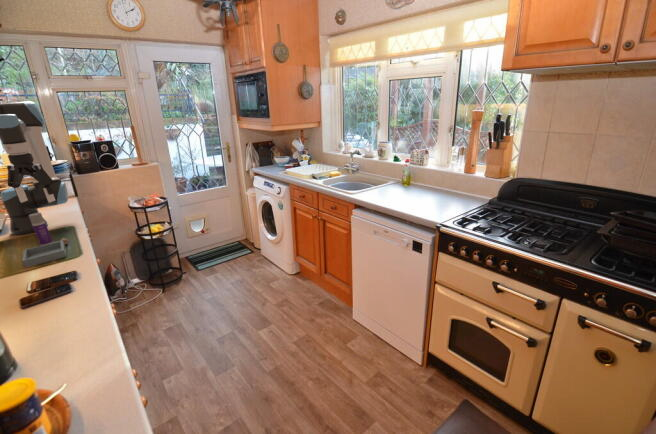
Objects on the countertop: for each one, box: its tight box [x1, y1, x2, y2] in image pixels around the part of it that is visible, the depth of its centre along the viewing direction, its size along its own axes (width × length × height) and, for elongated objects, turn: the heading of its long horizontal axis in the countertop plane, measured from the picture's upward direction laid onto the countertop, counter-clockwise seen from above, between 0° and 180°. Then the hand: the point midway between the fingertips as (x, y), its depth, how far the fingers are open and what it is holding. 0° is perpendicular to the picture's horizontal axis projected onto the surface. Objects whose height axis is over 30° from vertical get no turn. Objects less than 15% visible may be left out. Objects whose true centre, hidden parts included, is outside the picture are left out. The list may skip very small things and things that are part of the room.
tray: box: [21, 239, 67, 268], centre depth 146 cm, size 14×14×3 cm
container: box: [29, 212, 53, 246], centre depth 157 cm, size 5×5×15 cm
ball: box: [59, 237, 69, 246], centre depth 157 cm, size 3×3×3 cm
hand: (38, 201), depth 146 cm, fingers open, 13 cm apart
